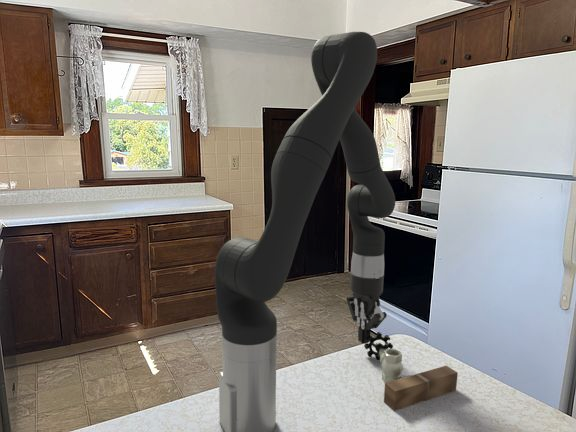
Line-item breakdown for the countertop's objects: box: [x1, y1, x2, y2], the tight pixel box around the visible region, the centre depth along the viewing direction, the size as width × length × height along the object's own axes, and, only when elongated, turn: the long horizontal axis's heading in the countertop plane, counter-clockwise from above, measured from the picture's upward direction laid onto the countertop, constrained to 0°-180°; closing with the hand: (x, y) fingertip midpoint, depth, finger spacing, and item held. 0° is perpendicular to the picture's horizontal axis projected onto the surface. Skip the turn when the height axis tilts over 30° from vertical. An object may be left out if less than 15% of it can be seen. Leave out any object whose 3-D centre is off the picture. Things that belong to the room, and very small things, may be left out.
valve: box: [363, 331, 403, 384], centre depth 92 cm, size 7×7×12 cm
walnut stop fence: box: [383, 365, 459, 412], centre depth 83 cm, size 16×3×4 cm, turn 116°
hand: (363, 341), depth 100 cm, fingers closed
